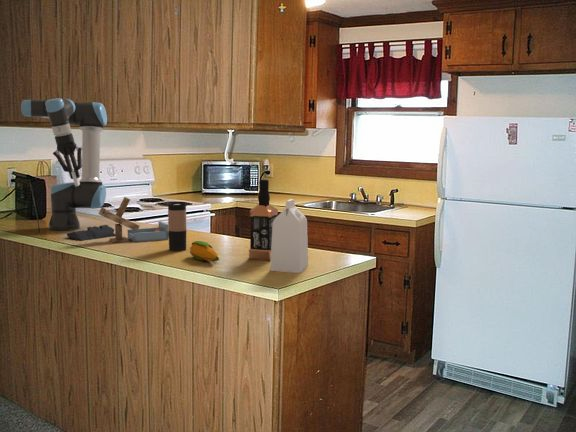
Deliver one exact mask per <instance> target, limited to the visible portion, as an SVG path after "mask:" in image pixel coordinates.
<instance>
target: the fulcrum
mask: <svg viewBox="0 0 576 432" xmlns="http://www.w3.org/2000/svg"><path fill="white" fill-rule="evenodd" d="M114 231H115V232H114V234H115V236H114V237H109V241H110V242H111V243H113V244H114V243H127V242H129V238H128V237H126V236H123V225H122V224H119V223H115V224H114Z"/></svg>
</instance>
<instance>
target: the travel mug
mask: <svg viewBox="0 0 576 432" xmlns="http://www.w3.org/2000/svg"><path fill="white" fill-rule="evenodd" d="M167 219H168V220H167V223H168V248H169V251H170V252H184V251H187V204H186V202H169V203H168V205H167Z"/></svg>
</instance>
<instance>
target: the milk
mask: <svg viewBox="0 0 576 432" xmlns="http://www.w3.org/2000/svg"><path fill="white" fill-rule="evenodd" d="M308 236H309V235H308V219H307V217H306V216H305V214H303V213H302V211H301V210H300V209H299V208H297V206H296V203H295V199H294V198H290V199H288V200H286V201H285V209H283V211H281V212H280V213H279V214H277V217H276V218H275V219H274V221H273V226H272V244H271V261H270V265H269V271H270V272H272V271H273V272H282V273H293V274H295V273H296V274H301V273H302V272H303V271H305V269H307V268H308V267H309V254H308V253H309V243H308V242H309V241H308Z"/></svg>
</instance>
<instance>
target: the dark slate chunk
mask: <svg viewBox="0 0 576 432" xmlns="http://www.w3.org/2000/svg"><path fill="white" fill-rule="evenodd" d="M114 231H115V228H113V227H111V226H109V225H107V224H103V225H102V224H101V225H99V226H95V225H94V226H87V228H86V229H83V230H76V231H72V232H67V233H66V237H68V238H70V239H73V240H76V241H77V240H79V242H80V241H81V242H83V241H85V240H86V241H91V240H101V239H104V238H114V237H115V232H114Z"/></svg>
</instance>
